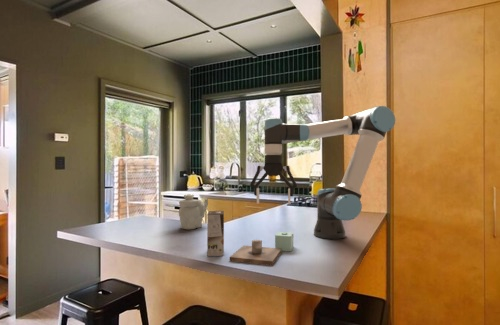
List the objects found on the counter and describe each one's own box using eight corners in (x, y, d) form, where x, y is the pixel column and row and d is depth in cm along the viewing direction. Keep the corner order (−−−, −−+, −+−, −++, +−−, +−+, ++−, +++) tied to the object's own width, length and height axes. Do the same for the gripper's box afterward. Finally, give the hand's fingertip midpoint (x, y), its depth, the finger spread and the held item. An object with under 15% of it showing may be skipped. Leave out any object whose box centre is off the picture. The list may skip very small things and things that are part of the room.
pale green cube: (293, 247, 127) (293, 231, 127) (290, 251, 121) (290, 235, 121) (278, 245, 129) (278, 230, 129) (275, 249, 123) (275, 234, 123)
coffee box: (223, 256, 115) (223, 214, 115) (206, 256, 114) (207, 214, 114) (223, 249, 124) (223, 210, 124) (208, 249, 123) (208, 210, 123)
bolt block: (281, 252, 119) (281, 237, 119) (272, 265, 104) (272, 248, 104) (243, 249, 124) (243, 234, 124) (229, 261, 109) (229, 244, 109)
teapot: (207, 223, 176) (207, 192, 176) (209, 229, 161) (209, 194, 161) (178, 225, 172) (178, 192, 172) (178, 230, 158) (178, 195, 158)
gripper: (302, 154, 130) (303, 203, 130) (246, 155, 135) (247, 201, 135) (302, 153, 123) (302, 205, 123) (243, 154, 128) (243, 204, 128)
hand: (273, 203), depth 129 cm, fingers open, 13 cm apart
